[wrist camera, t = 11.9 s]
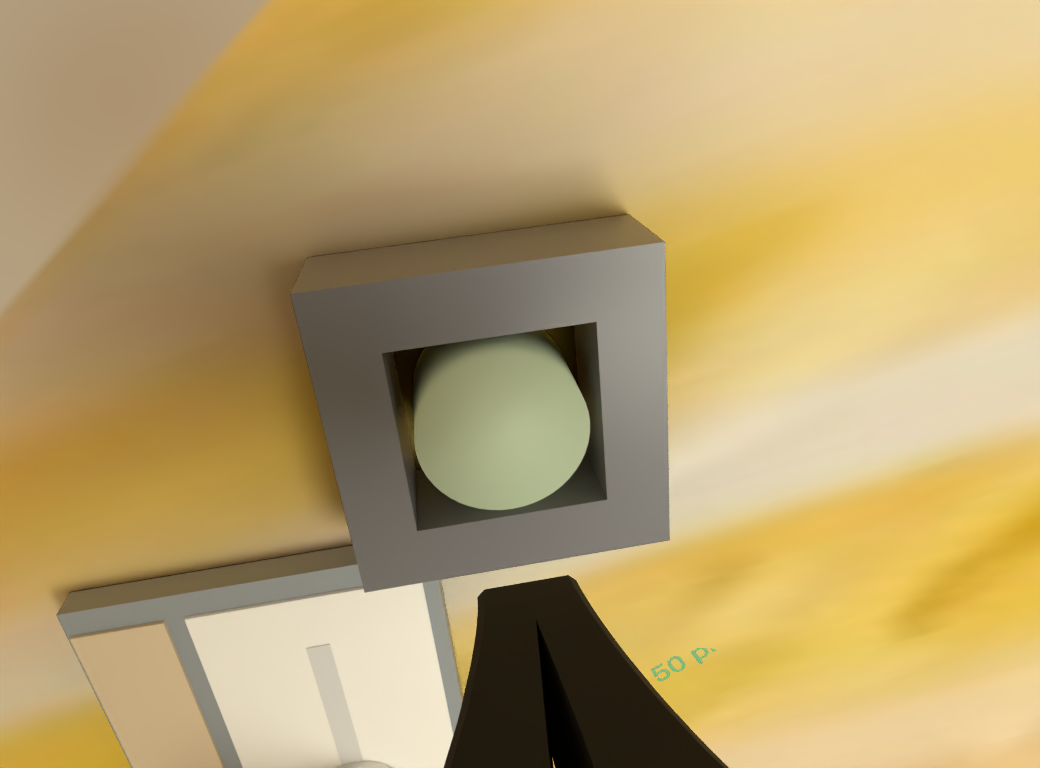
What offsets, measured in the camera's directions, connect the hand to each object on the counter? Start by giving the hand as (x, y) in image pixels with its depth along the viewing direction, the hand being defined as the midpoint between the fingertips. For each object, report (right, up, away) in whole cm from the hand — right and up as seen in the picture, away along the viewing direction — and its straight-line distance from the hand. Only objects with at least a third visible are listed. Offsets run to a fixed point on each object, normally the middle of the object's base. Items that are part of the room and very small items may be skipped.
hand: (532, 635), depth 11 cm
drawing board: (-6, -6, +10) cm, 14 cm away
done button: (-1, +4, +7) cm, 8 cm away
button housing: (-1, +4, +7) cm, 8 cm away
